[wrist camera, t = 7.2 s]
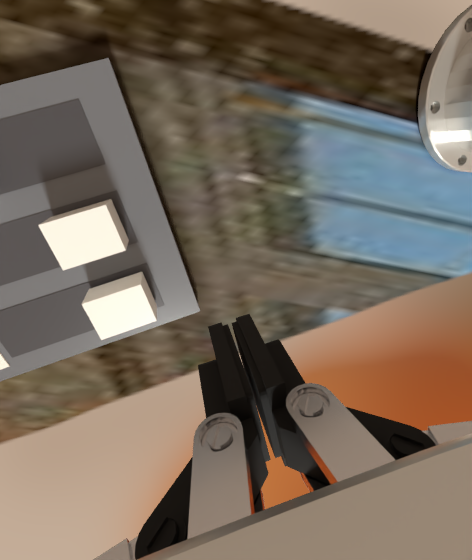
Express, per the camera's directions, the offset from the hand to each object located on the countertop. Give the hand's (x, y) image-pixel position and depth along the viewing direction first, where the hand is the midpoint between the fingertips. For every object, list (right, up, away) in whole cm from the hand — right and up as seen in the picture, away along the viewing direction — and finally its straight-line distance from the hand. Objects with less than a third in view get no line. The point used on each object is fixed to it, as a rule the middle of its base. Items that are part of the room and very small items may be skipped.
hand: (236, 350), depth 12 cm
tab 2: (-8, +1, +11) cm, 14 cm away
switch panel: (-15, +5, +10) cm, 19 cm away
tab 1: (-10, +6, +9) cm, 15 cm away
